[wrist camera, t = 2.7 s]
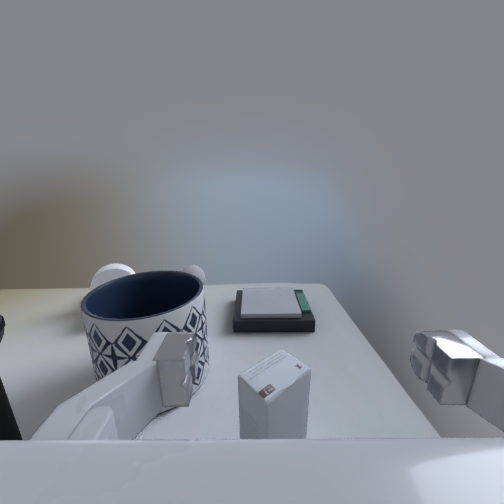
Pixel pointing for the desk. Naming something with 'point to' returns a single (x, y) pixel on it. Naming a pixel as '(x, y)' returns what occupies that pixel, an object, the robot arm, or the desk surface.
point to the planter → (143, 318)
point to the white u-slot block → (110, 274)
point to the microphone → (6, 408)
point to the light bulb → (195, 272)
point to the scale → (272, 311)
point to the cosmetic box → (274, 398)
